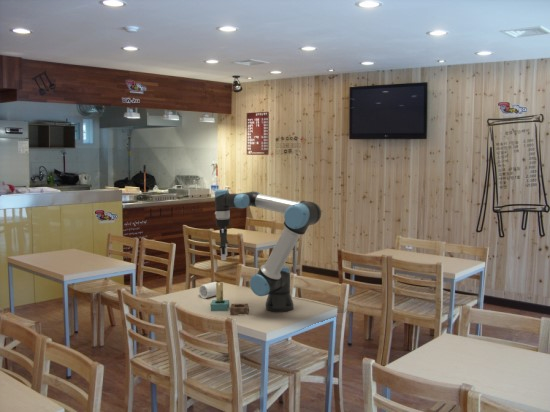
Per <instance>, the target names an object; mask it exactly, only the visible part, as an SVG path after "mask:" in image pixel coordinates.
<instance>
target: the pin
mask: <svg viewBox="0 0 550 412" xmlns="http://www.w3.org/2000/svg"><path fill="white" fill-rule="evenodd" d="M216 282H217V281H216ZM215 297H216V300H217V303H223V300H224V283H223V281H222V282H221V281H220V282H217V283H216V296H215Z"/></svg>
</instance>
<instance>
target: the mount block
mask: <svg viewBox="0 0 550 412" xmlns="http://www.w3.org/2000/svg"><path fill="white" fill-rule="evenodd" d="M229 307H230V308H229V311H230V313H229V314H230V316H239V315H238V314H249V303H248V302H247V303H231V305H230V306H229Z"/></svg>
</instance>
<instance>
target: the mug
mask: <svg viewBox="0 0 550 412" xmlns="http://www.w3.org/2000/svg"><path fill="white" fill-rule="evenodd" d="M216 283H217V281H213V282H207V283H204V284H201V285H200V286H199V288H198V293H199V296H200V297H201V298H202V299H208V298H211V297H216Z"/></svg>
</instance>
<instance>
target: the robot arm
mask: <svg viewBox="0 0 550 412" xmlns="http://www.w3.org/2000/svg"><path fill="white" fill-rule="evenodd" d="M214 191H215V192H214V203H215V205H214V207H215V212H214V215H215V226H216V227H220V229H219V230H218V231H219V238H220V246H219V249H220V261H227V257H228V244H229V241H228V229H227V227H229V226H230V225H231V219H230V217H231V215H230V213H231V211H230V210H231V209H233V208H234V209H246V208H248V207H255V208H258V209H263V210H268V211H271V212H272V211H273V212H277V213H281V214H284V215H283V218H284V221H283V227H284V228H283V230H282V232H281V233H280V235H279V238H278V239H277V241H276V243H275V245H274V247H273V249H272V250H271V252H270V255H269V257H268V259H267V260H266V262H265V264H262V265H261V266H260V267H259V269H258V271H257V273H254V274H253V275H252V276H251V277H250V280H249V286H250V289H251V291H252V293H253V294H255V295H256V296H258V297H264V296H267V297H266V301H265V305H264V307H265V310H266V311H269V312H275V313H278V312H279V313H283V312H290V311H292V310H294V307H295V306H294V305H295V304H294V301H293V298H292V295H291V271H290V267H288V266H286V262H287V261H288V258H289V256H290V255H291V253H292V251H293V250H294V248H295V247H296V244H297V242H298V240H299V238H300V236H303V235H305V233H306V232H307V230H308V228H309V226H312V225H316V224H317V223H318V222H319V221H320V220H321V217H322V210H321V209H322V208H321V207H320V206H319V204H318V203H316V202H314V201H308V200H307V201H306V200H302V199H301V200H299V201H298V200H293V199H287V198H284V197H283V198H282V197H278V196H272V195H268V194H263V193H260V191H259V192H258V191H248V192H240V193H230V191H229V190H228V189H216V190H214Z"/></svg>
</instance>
